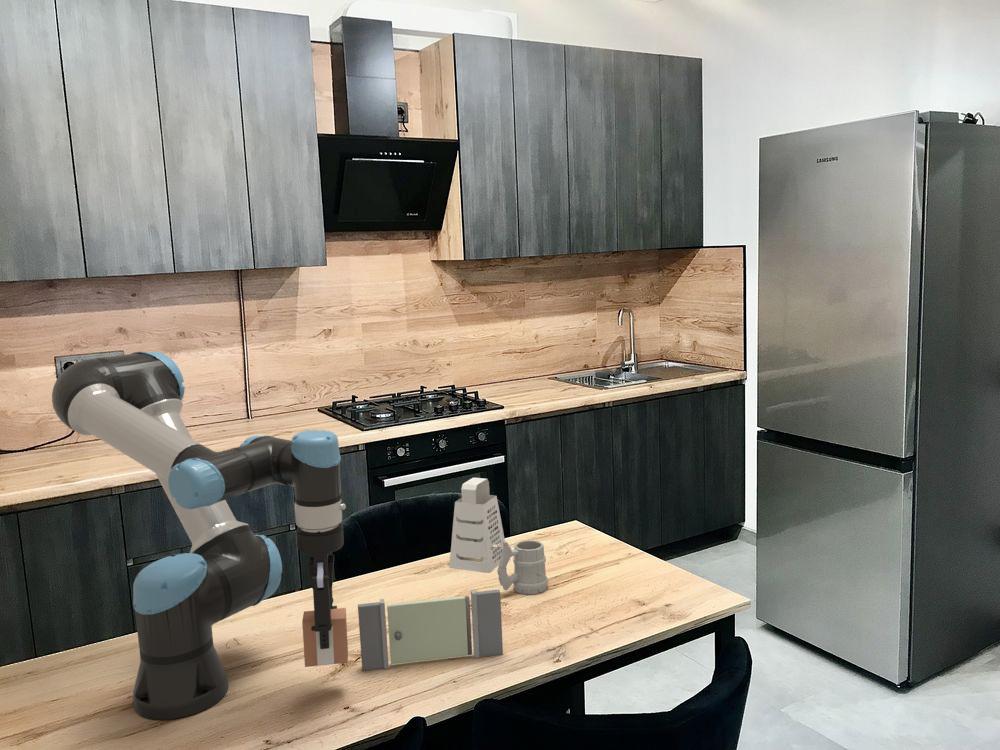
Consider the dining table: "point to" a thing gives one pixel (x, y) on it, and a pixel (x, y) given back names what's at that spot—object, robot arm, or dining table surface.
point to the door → (429, 629)
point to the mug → (524, 567)
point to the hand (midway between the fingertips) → (326, 656)
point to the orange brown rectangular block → (338, 637)
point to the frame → (483, 624)
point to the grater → (476, 528)
